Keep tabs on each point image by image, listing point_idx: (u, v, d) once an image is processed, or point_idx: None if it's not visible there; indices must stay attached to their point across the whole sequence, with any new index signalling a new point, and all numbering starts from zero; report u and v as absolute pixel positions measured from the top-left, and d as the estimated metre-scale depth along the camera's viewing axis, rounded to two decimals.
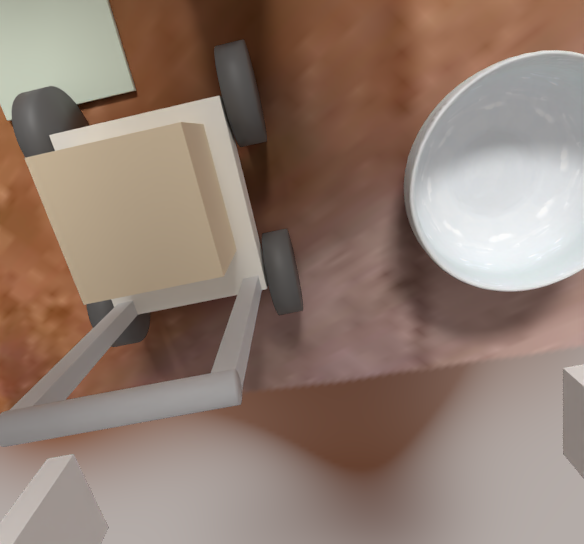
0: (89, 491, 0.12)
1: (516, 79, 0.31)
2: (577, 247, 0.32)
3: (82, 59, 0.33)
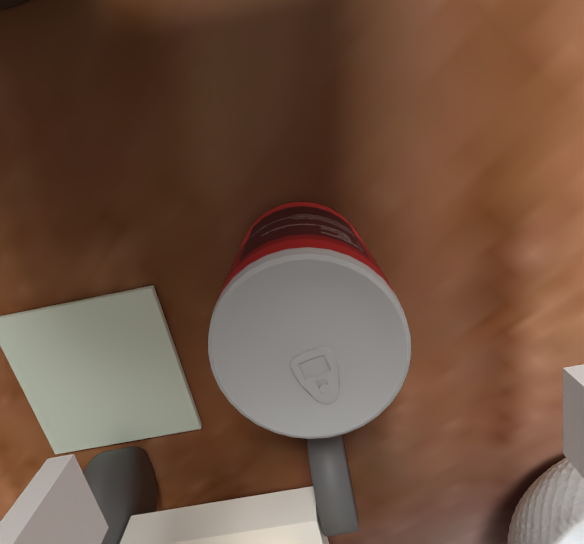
0: (89, 491, 0.12)
1: None
2: None
3: (143, 402, 0.29)
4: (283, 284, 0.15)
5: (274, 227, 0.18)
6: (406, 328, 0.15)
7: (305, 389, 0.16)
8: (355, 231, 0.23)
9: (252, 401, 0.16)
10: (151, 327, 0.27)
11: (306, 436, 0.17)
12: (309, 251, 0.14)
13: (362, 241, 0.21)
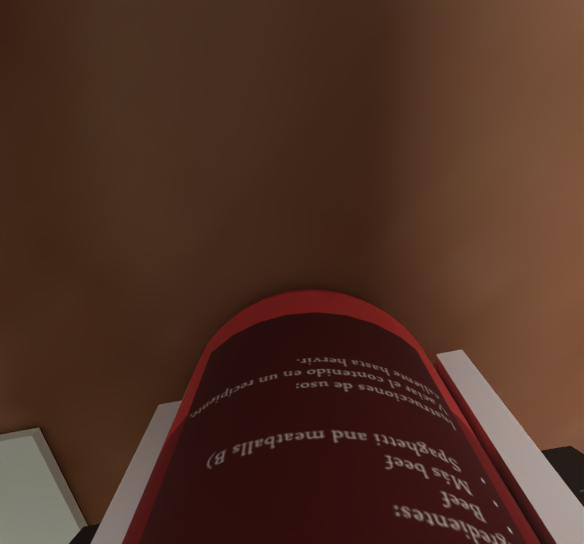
0: None
1: None
2: None
3: None
4: None
5: (245, 429, 0.07)
6: None
7: None
8: (428, 363, 0.11)
9: None
10: (38, 499, 0.15)
11: None
12: None
13: (452, 399, 0.10)
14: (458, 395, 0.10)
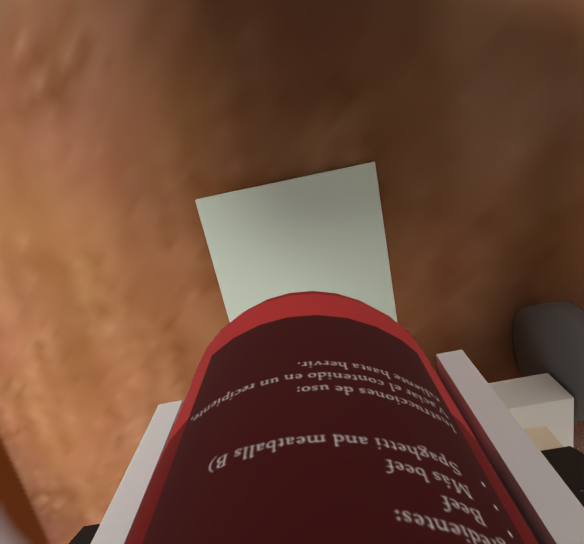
0: None
1: None
2: None
3: None
4: None
5: (246, 433, 0.07)
6: None
7: None
8: (429, 365, 0.11)
9: None
10: (366, 208, 0.25)
11: None
12: None
13: (452, 401, 0.10)
14: (458, 395, 0.10)
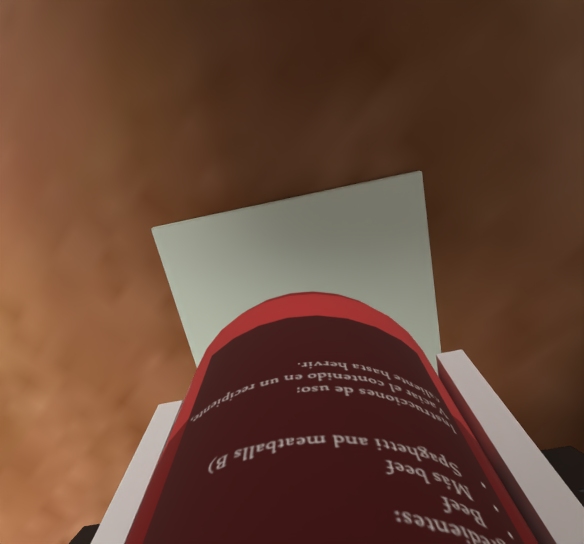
0: None
1: None
2: None
3: None
4: None
5: (246, 433, 0.07)
6: None
7: None
8: (429, 366, 0.11)
9: None
10: (407, 240, 0.17)
11: None
12: None
13: (452, 402, 0.10)
14: (458, 395, 0.10)
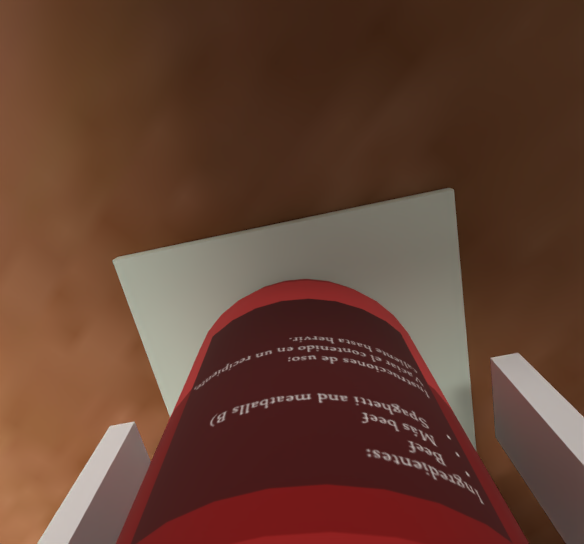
0: (147, 458, 0.12)
1: None
2: None
3: None
4: None
5: (243, 394, 0.08)
6: None
7: None
8: (411, 345, 0.12)
9: None
10: (433, 274, 0.14)
11: None
12: None
13: (431, 376, 0.11)
14: (523, 402, 0.10)
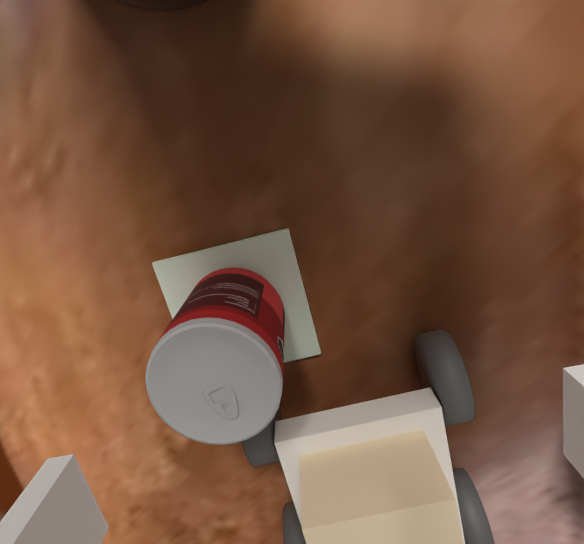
0: (89, 491, 0.12)
1: None
2: None
3: None
4: (192, 342, 0.23)
5: (198, 296, 0.26)
6: (275, 367, 0.23)
7: (215, 410, 0.24)
8: (268, 289, 0.30)
9: (179, 420, 0.24)
10: (285, 263, 0.32)
11: (218, 443, 0.24)
12: (206, 320, 0.22)
13: (271, 298, 0.29)
14: None
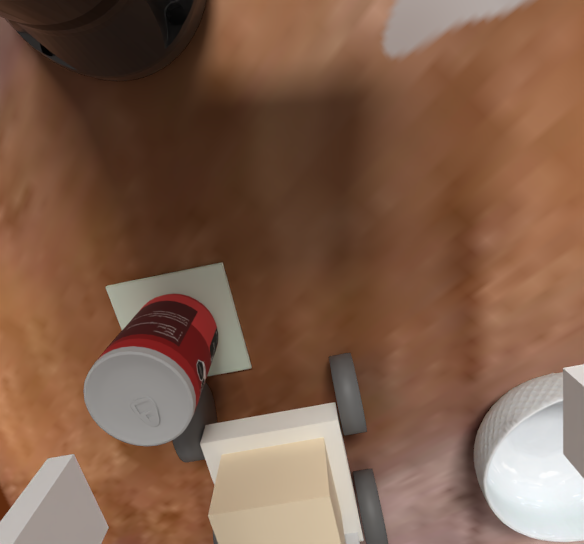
0: (89, 491, 0.12)
1: None
2: None
3: None
4: (121, 365, 0.28)
5: (135, 323, 0.32)
6: (187, 387, 0.28)
7: (140, 419, 0.30)
8: (201, 315, 0.36)
9: (112, 425, 0.30)
10: (220, 292, 0.38)
11: (143, 445, 0.30)
12: (132, 349, 0.28)
13: (201, 324, 0.35)
14: None
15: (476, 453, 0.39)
